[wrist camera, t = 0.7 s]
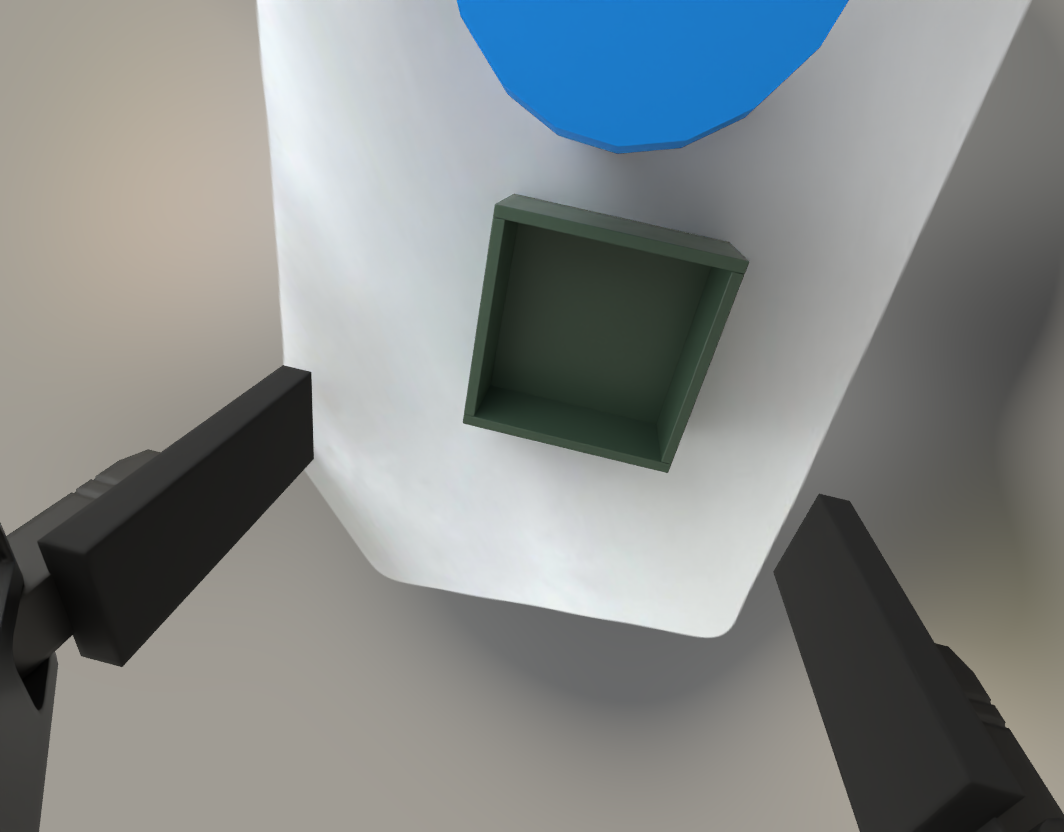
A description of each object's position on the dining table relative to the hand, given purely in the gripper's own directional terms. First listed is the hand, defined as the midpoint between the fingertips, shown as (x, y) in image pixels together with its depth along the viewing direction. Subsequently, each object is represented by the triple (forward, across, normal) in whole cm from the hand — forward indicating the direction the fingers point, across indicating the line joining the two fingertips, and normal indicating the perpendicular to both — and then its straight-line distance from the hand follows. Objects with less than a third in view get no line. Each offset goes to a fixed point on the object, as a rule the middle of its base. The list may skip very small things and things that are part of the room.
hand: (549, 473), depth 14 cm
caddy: (+30, +1, -6) cm, 31 cm away
